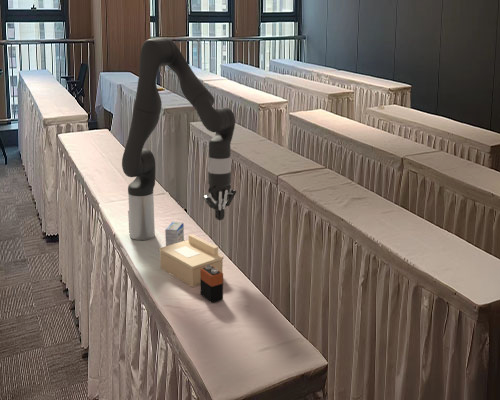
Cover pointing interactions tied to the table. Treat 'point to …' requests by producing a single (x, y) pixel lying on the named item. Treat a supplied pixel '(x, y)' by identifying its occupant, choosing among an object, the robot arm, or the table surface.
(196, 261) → the lid
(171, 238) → the medicine box
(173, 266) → the box
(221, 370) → the table surface
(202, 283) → the battery
